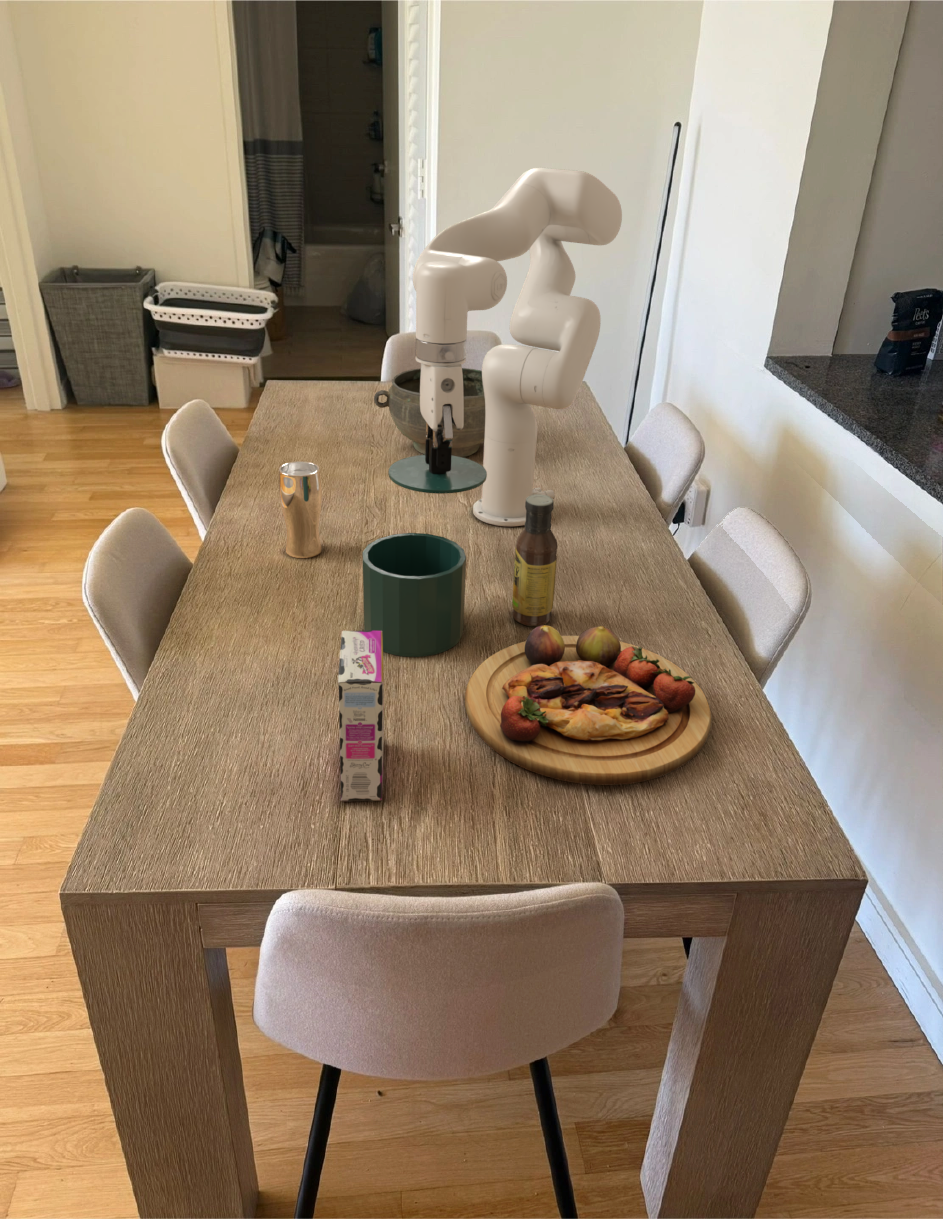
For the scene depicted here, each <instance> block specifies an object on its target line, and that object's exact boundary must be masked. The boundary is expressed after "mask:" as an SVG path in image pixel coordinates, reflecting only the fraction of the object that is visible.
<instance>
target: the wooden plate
mask: <svg viewBox="0 0 943 1219" xmlns="http://www.w3.org/2000/svg"><path fill="white" fill-rule="evenodd" d="M464 707H465V712H466V715H467V718H468V720H469V723H470V724H471V726H472V729H474V731H475V732H476V734H477V735H478V736H479V737H480V738H481V739H482V741H483V742H484V743H485V744H486V745H487V746H488V747H489V748H490V749H491V750H493V751H494V752H496V754H499V755H500V756H501V757H503V758H504V759H506V760H508V761H509V762H511V763H513V764H515V765H517V766H518V767H521V768H523V769H525V770H527V771H530V772H533V773H536V774H538V775H542V776H544V777H548V778H551V779H554V780H559V781H564V782H568V783H575V784H583V785H595V786H597V785H599V786H616V785H617V786H618V785H629V784H637V783H642V782H646V781H650V780H654V779H657V778H660V777H663V776H666V775H668V774H670V773H673V772H674V771H676V770H678V769H680V768H681V767H683V766H684V765H687V763H689V762H691V761H692V760H693V759H694V758H695V757H696V756H697V755H698V754H699V753H700V752H701V750H702V749H703V747H705V744H706V743H707V741H708V738H709V736H710V732H711V728H712V724H713V723H712V713H711V712H712V711H711V707H710V705H709V702H708V699H707V697H706V695H705V692H704V691H703V690H702V688H701V686H699V685H698V683H697V682H696V681H695V680H694V679H693V678H692V677H691V676H690V675H689V674H688V673H687V672H686V671H685V670H683V669H681V667H679V666H678V665H676V664H675V663H673V662H672V661H670V660H668V659H667V658H666V657H663V656H661V655H659V654H657V653H656V652H653V651H650V650H649V649H647V648H643V647H640V646H637V645H634V644H631V643H629V642H628V643H627V642H623V641H620V639H619V637H618V636H617V634H616V633H615V632H614V631H612V630H611V629H609V628H607V627H604V625H599V626H593V627H590V628H588V629H586V630H584V631H582V633H581V634H580V635H561V634H560V632H559V631H558V630H557V629H556V628H555V627H553V626H550V625H546V624H545V625H542V626H535V628H533V629H532V630H531V631H530V633H529V634H528V636H527V638H526V640H525V641H522V642H518V643H515V644H513V645H510V646H507V647H505V648H503V649H500V650H499V651H497V652H495V653H493V654H492V655H490V656H489V657H486V659H485V660H483V661H482V662H481V663H480V664H479V665H478V666H477V668H476V669H475V670H474V672H473V673H472V675H471V676H470V678H469V680H468V682H467V684H466V688H465V693H464Z"/></svg>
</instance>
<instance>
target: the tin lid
mask: <svg viewBox="0 0 943 1219" xmlns="http://www.w3.org/2000/svg"><path fill="white" fill-rule="evenodd" d="M438 437H439V435H438ZM431 447H433V436H431V437H430V443H429V464H426V462H425V454H419V455H418V454H417V455H411V456H407V457H403V458H401V459H399V460H397V461H395V462H393V463H392V464H391V465H390V466H389V468H388V478H389V479H390V480H391V482H392V483H394V484H395V485H397V486H398V487H401V488H403V489H407V490H409V491H413V492H419V493H425V494H438V495H439V494H441V495H442V494H445V495H446V494H457V493H462V492H468V491H471V490H474V489H476V488H478V487H480V486H482V484H483V483H484V482H485V480H486V478H487V472H486V470H485V468H484V467H483V465H482V464H481V463H479V462H477V461H474V460H472V459H469V458H466V457H457V456H451V470H450V471H449V472H432V471H431V470H430V464H431Z"/></svg>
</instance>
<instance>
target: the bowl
mask: <svg viewBox="0 0 943 1219" xmlns="http://www.w3.org/2000/svg"><path fill="white" fill-rule="evenodd" d="M462 374H463V399H464V426H463V428H462V429H461V430H458V429H457V428H456V427H455V426H454V424H453V423H452V431H453V440H452V454H451V456H457V457H462V458H466V457H468V456H469V457H470V456H472V455H473V454H475V453H477V452H478V450H479V448H480V445H481V444H482V443H484V438H485V396H484V388H483V381H482V369H481V370H480V369H475V368H467V367H462ZM420 376H421V367H420V368H413V369H407V370H405V371H402V372H399V373H398V374H397V375H395V376H394V377H393V378H392V379H391V386H390V387H389V388H388V391H387V390H384V389H381V390H379V391H377V392H376V393H375V394H374V396H373V402H374V404H375V405H376V406H377V407H378V408H380V409H381V408H388V410H389V413H390V416H391V419H392V421H393V423H394V424H395V426H396V428H397V430H398V431H399V432H400V433H401V434H402V435H403V436H404V437H406V438H407V439H409V440H410V441H412V442H413V443H412V445H413V448H414V449H415V451H417V452H419V453H421V454H422V455H425V447H426V439H427V438H426V421H425V419H424V418H423V416H422V414H421V411H420ZM380 396H385V397H386V401H384V402H381V401H379V398H380ZM439 426H440V425H439ZM428 439H430V438H428Z"/></svg>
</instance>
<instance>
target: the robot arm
mask: <svg viewBox="0 0 943 1219" xmlns="http://www.w3.org/2000/svg"><path fill="white" fill-rule="evenodd" d="M622 221H623V210H622V205H621V202H620V200H619V198H618V196H617V195H616V194H615V193H614V192H613V191H612V189H610V188H609V187H608V186H607V185H606V184H605V183H604V182H603V181H602V180H600V179H599V178H598V177H597V176H594V175H593V174H591V173H590V172H586V171H582V170H575V169H562V168H551V167H533V168H530V169H527V170H525V171H524V172H523V173H521V174H520V175H519V177H518V178H516V180H515V181H514V182H513V183H512V185H511V186H510V187H509V188H508V189H507V190H506V192H504V193H503V195H502V196H501V198H499V199H498V201H497V202H496V203H495V204H494V205H493V207H492V208H490V209H489V210H486V211H483V212H481V213H478V214H476V215H473V216H471V217H469V218H466V219H464V220H461V221H457V222H456V223H454V224H451V225H449V226H447V227H446V228H444V229H443V230H441V231H440V232H439V233H437V234H436V235H435V236H434V237H433V238H432V239H431V241H430V242H429V243H428V244H427V245H426V246H425V247H424V248H423V249H422V251H421V253H420V254H419V256H418V258H417V260H416V262H415V265H414V267H413V272H412V284H413V288H414V290H415V362H417V363H419V364H420V368H421V376H420V411H421V414H422V416H423V418H424V419H425V421H426V438H427V439H426V447H425V454H424V455H425V462H426V464H429V443H430V439H428V438H430V437H431V436H433V447H431V464H430V470H431V471H432V472H449V471H450V470H451V454H452V440H453V431H452V423H453V424H454V426H455V427H456V428H457V429H458V430H461V429H462V428H463V426H464V399H463V374H462V368H463V366H462V365H463V364H465V363H466V361H467V336H468V335H467V334H468V312H471V311H486V310H490V309H492V308H494V307H496V306H497V305H498V304H499V303H501V301H502V300H503V298H504V296H505V295H506V292H507V288H508V276H507V272H506V270H505V268H504V266H503V265H502V264H501V263H500V262H502V261H507V260H511V259H515V258H518V257H521V256H523V255H524V254H526V253H527V252H529V267H528V271H527V273H526V276H525V279H524V282H523V284H522V287H521V290H520V292H519V295H518V297H517V300H516V302H515V305H514V307H513V310H512V314H511V315H510V320H509V333H510V335H511V337H512V338H513V340H515V341H516V342H518V343H520V344H516V343H502V344H497V345H496V346H495V345H494V346H493V347H491V348H490V349H489V350H488V351H487V352H486V354H485V355H484V357H483V361H482V365H481V371H482V381H483V388H484V396H485V438H484V441H483V462H482V463H483V464H482V466H483V467H484V468H485V470H486V472H487V478H486V480H485V482H484V483H483V484H482V485H481V498H480V499H478V500H477V501H475V502H474V504H473V505H472V513H473V515H474V516H475V518H476V519H478V520H480V521H481V522H483V523H486V524H488V525H493V526H499V527H521V526H525V522H526V508H525V502H526V498H527V497H529V496H531V495H535V494H541V495H547V496H549V497H551V498H552V499H553V500H555V496H556V495H555V491H554V490H553V489H547V490H542V488H541V487H534V479H535V469H536V468H535V467H536V453H537V442H538V441H537V439H538V438H537V437H538V421H537V416H536V414H535V412H534V409H533V408H532V406H538V407H542V408H546V409H553V410H565V409H568V408H569V407H571V405H573V403H574V401H575V400H576V398H577V396H578V394H579V392H580V389H581V387H582V383H583V381H584V378H585V375H586V373H587V370H588V367H589V364H590V362H591V360H592V357H593V354H594V351H595V348H596V347H597V342H598V339H599V336H600V331H601V312H600V310H599V307H598V305H597V304H596V302H594V301H592V300H591V299H589V298H586V297H582V296H576V295H571V293H572V291H573V288H574V285H575V282H576V271H575V267H574V264H573V262H572V260H571V258H570V256H569V254H568V253H567V251H566V249H565V248H564V245H563V243H562V242H567V243H573V244H574V243H575V244H584V245H593V246H606V245H608V244H611V243H612V242H613V241H614V240H615V239H616V237H617V236H618V235H619V232H620V230H621V227H622V226H621V225H622ZM521 344H522V345H521ZM439 425H440V426H439ZM438 435H439V437H438Z"/></svg>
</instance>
